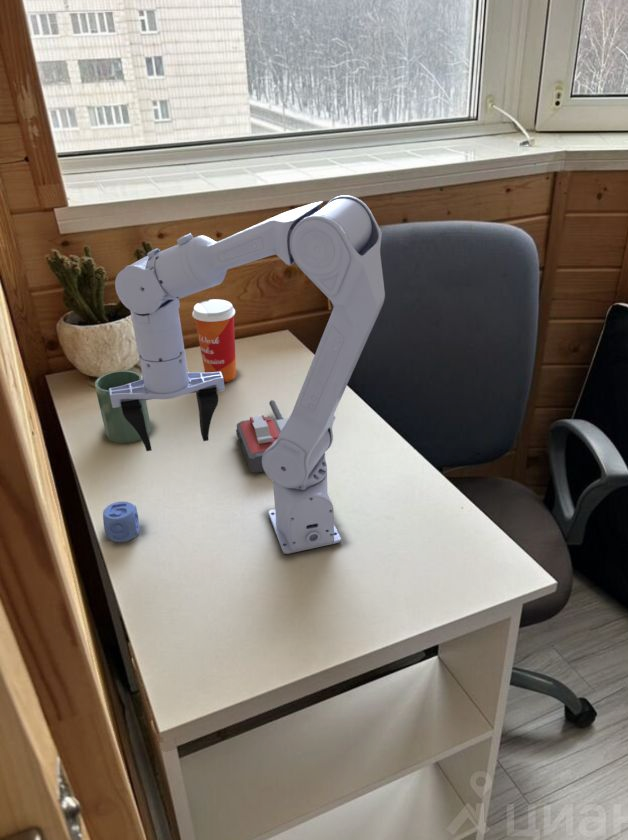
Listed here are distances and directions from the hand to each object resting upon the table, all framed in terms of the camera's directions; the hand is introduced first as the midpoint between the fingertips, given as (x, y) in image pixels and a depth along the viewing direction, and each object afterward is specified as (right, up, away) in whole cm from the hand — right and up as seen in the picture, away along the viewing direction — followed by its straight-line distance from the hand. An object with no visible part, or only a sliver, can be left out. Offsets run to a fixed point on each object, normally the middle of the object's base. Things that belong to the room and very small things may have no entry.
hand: (176, 442), depth 100 cm
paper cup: (-1, +13, +37) cm, 40 cm away
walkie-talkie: (+10, +1, +19) cm, 21 cm away
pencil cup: (-13, +2, +21) cm, 25 cm away
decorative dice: (-7, -13, -1) cm, 14 cm away
